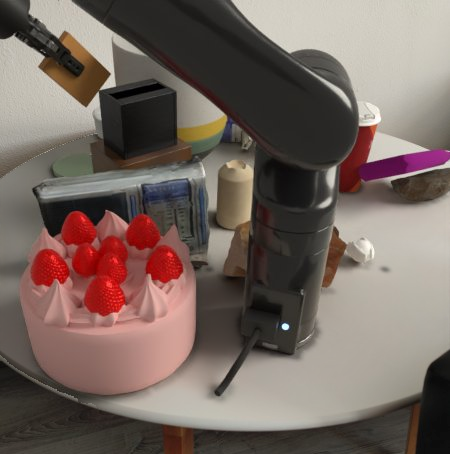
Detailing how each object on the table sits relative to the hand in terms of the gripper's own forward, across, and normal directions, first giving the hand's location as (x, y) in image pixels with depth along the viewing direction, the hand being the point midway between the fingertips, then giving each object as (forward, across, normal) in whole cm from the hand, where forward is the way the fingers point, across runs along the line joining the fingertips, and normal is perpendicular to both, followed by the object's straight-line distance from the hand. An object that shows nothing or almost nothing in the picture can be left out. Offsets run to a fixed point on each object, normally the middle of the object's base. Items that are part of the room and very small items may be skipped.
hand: (77, 69), depth 94 cm
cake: (-1, -42, +25) cm, 48 cm away
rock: (+38, -46, -21) cm, 63 cm away
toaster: (+3, -19, +4) cm, 20 cm away
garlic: (+26, -48, -2) cm, 55 cm away
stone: (+18, -48, -1) cm, 51 cm away
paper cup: (+36, -31, -12) cm, 49 cm away
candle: (+20, -29, +5) cm, 35 cm away
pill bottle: (+31, -7, -11) cm, 34 cm away
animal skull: (+38, -10, -16) cm, 42 cm away
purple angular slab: (+29, -39, -16) cm, 51 cm away
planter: (+22, -6, +2) cm, 23 cm away
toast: (+5, 0, 0) cm, 5 cm away
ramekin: (+20, +9, +4) cm, 22 cm away
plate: (+11, 0, +14) cm, 17 cm away
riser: (+12, -19, +12) cm, 26 cm away
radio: (+6, -30, +18) cm, 35 cm away
